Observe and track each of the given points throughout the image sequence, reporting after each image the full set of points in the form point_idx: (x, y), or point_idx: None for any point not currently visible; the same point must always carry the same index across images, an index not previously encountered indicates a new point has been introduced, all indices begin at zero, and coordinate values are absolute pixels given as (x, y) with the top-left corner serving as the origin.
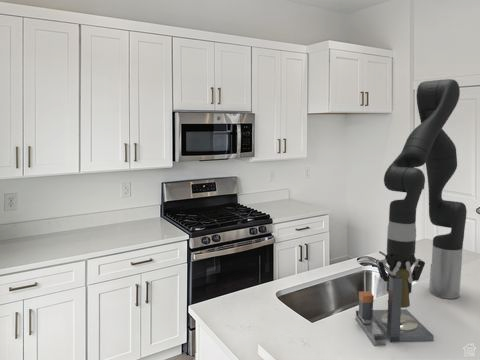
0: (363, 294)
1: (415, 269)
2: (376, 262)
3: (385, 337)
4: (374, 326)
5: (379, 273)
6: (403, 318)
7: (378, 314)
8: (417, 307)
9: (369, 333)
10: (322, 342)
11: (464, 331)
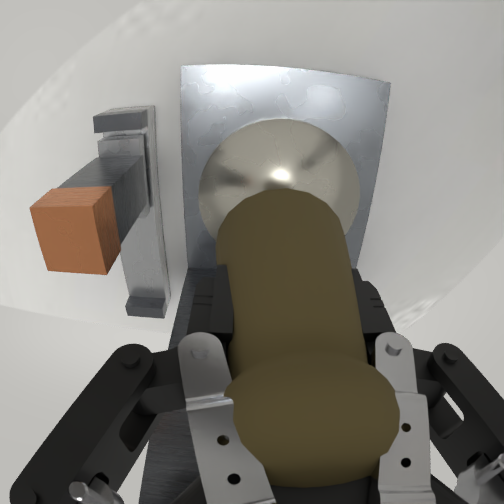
0: (51, 251)
1: (462, 436)
2: (21, 494)
3: (164, 314)
4: (153, 224)
5: (89, 386)
6: (314, 183)
7: (213, 115)
8: (458, 45)
9: (123, 266)
10: (9, 262)
11: (471, 244)
